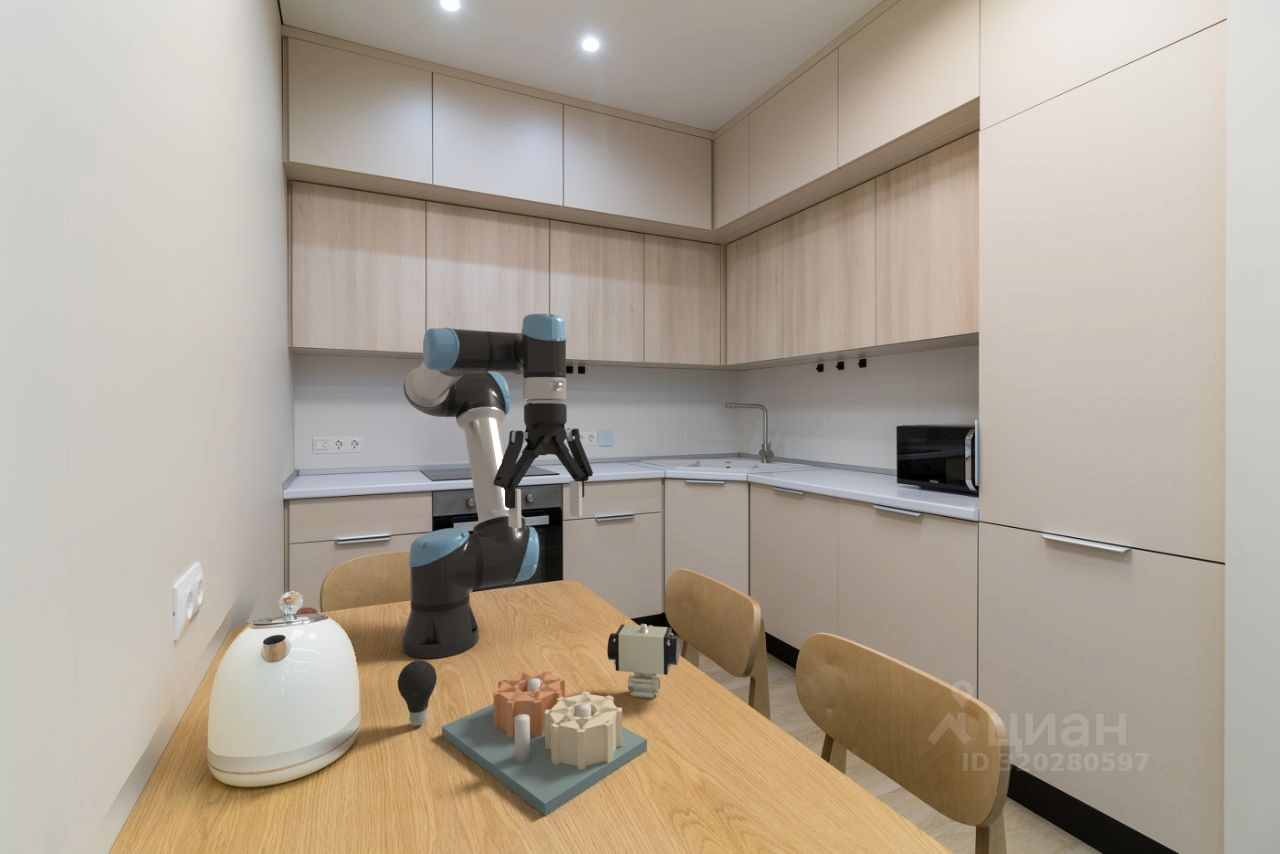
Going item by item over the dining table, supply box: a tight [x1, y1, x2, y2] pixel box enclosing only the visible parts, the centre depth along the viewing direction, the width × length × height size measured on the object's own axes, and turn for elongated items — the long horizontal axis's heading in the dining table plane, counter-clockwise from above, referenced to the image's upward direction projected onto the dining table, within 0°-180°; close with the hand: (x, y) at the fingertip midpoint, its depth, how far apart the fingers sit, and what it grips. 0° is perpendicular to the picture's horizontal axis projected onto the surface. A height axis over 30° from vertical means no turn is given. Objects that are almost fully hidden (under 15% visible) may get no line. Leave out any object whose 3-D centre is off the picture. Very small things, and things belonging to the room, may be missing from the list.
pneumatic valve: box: [606, 623, 681, 699], centre depth 98 cm, size 6×12×12 cm, turn 78°
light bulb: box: [397, 659, 438, 728], centre depth 88 cm, size 6×6×10 cm
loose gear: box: [492, 670, 566, 737], centre depth 87 cm, size 10×10×5 cm
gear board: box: [441, 678, 648, 816], centre depth 83 cm, size 25×18×7 cm
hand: (547, 521), depth 102 cm, fingers open, 13 cm apart
